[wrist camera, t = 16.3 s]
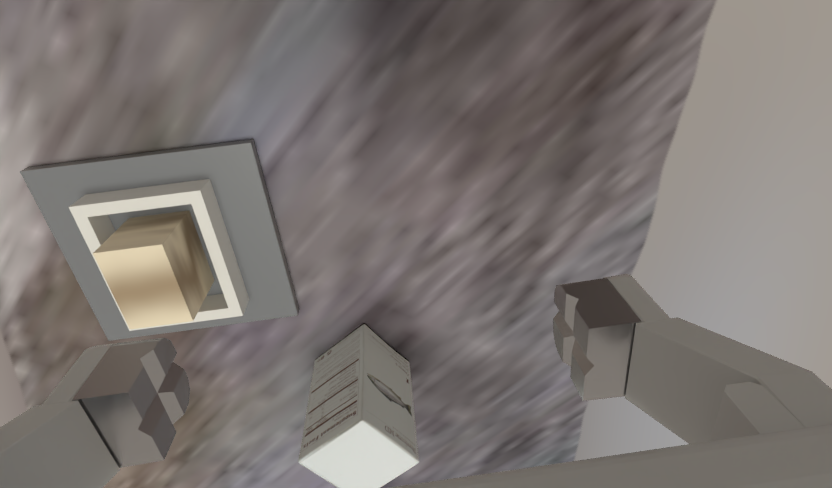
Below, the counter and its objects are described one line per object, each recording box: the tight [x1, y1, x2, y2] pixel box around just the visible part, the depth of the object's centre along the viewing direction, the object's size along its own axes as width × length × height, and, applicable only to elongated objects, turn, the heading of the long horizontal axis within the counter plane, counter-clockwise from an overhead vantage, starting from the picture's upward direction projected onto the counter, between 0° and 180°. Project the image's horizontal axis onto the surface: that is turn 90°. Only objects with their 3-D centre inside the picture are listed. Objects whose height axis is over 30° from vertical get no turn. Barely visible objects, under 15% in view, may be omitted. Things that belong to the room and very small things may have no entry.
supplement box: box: [298, 324, 419, 488], centre depth 45 cm, size 7×7×13 cm
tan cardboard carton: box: [93, 210, 214, 329], centre depth 39 cm, size 7×5×6 cm
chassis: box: [20, 139, 299, 341], centre depth 41 cm, size 17×18×4 cm
